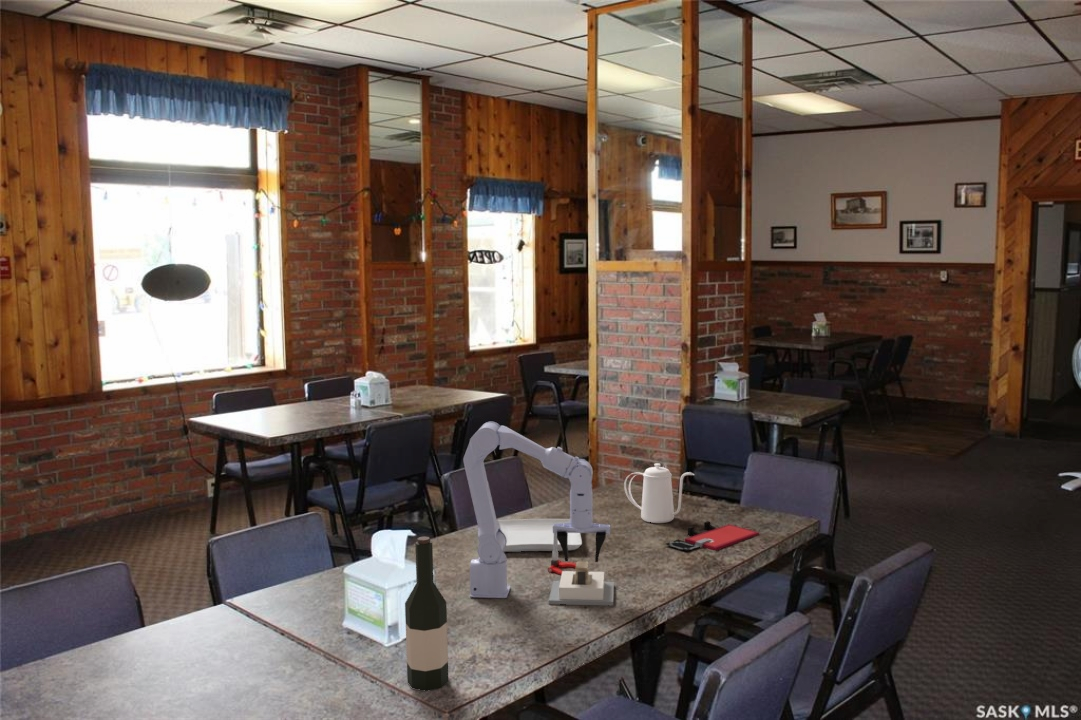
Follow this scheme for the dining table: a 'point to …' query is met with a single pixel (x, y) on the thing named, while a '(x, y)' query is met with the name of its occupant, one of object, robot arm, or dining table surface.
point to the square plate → (535, 535)
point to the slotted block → (582, 590)
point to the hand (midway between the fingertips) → (581, 560)
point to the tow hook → (555, 561)
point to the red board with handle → (713, 537)
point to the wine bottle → (426, 625)
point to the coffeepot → (657, 494)
